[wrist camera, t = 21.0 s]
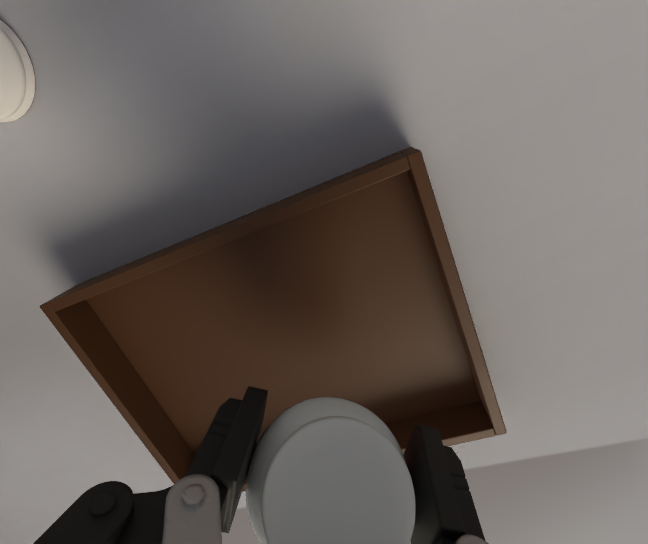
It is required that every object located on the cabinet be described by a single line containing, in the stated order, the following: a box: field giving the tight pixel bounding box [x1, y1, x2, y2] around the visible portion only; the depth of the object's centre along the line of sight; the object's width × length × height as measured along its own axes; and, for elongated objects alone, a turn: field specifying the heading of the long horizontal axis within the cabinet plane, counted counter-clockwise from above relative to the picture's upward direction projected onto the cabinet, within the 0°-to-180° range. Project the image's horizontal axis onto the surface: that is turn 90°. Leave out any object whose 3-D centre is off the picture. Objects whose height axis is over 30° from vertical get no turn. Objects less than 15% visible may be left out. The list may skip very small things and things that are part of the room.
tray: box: [40, 147, 506, 492], centre depth 21 cm, size 21×16×3 cm
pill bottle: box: [246, 397, 415, 544], centre depth 14 cm, size 5×5×10 cm
